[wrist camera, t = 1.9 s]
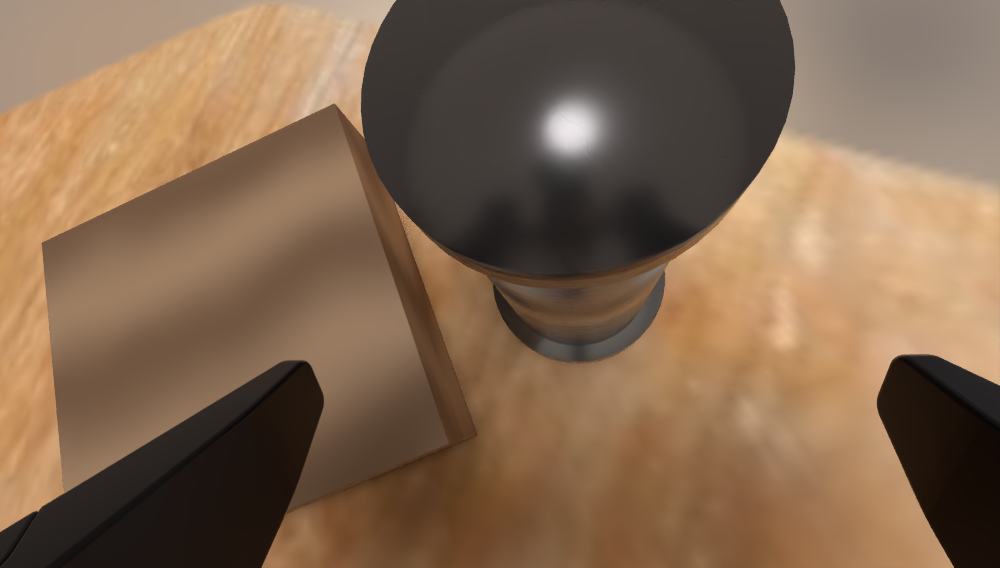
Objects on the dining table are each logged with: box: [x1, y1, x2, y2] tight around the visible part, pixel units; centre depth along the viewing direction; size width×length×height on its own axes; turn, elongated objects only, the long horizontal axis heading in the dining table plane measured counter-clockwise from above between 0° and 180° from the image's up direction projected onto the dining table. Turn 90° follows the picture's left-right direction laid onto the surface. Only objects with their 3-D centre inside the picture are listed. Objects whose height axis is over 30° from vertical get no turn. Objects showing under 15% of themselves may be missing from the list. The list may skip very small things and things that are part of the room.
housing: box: [361, 0, 795, 363], centre depth 13 cm, size 7×7×13 cm
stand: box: [42, 103, 477, 513], centre depth 19 cm, size 14×14×4 cm
